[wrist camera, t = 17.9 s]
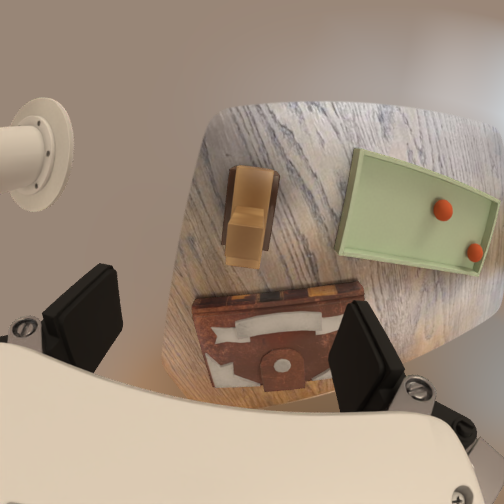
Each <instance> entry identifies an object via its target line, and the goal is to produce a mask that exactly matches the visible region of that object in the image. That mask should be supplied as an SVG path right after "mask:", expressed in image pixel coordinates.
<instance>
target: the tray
mask: <svg viewBox="0 0 504 504" xmlns="http://www.w3.org/2000/svg"><path fill="white" fill-rule="evenodd" d="M442 199H443V200H447V201H448V202H449V203H450V204H451V205H452V208H453V214H452V217H451V218H450V219H449V220H448V221H440V220H438V219H437V218H436V217H435V215H434V211H433V209H434V205H435V203H436V202H437V201H439V200H442ZM500 202H501V201H500V200H498V199H496V198H494V197H492V196H490V195H488V194H486V193H483V192H481V191H479V190H477V189H475V188H473V187H470V186H468V185H466V184H463V183H461V182H459V181H456V180H454V179H451V178H449V177H446V176H444V175H441V174H439V173H436V172H433V171H431V170H428V169H425V168H422V167H419V166H417V165H414V164H411V163H408V162H405V161H401V160H398V159H395V158H392V157H389V156H385V155H382V154H378V153H375V152H371V151H367V150H364V149H354V151H353V157H352V163H351V169H350V175H349V180H348V186H347V191H346V196H345V201H344V206H343V211H342V215H341V220H340V225H339V229H338V233H337V238H336V242H335V246H334V249H335V251H336V252H337V254H338V255H340V256H348V257H354V258H361V259H368V260H375V261H381V262H388V263H394V264H401V265H407V266H414V267H420V268H427V269H433V270H439V271H446V272H452V273H458V274H465V275H471V276H477V277H479V275H480V272H481V269H482V266H483V264H484V261H485V258H486V255H487V252H488V248H489V245H490V242H491V239H492V235H493V231H494V228H495V224H496V220H497V216H498V212H499V207H500ZM474 243H476V244H479V245H480V246H481V247H482V250H483V256H482V259H481V260H480V261H479V262H472V261H470V260H469V258H468V256H467V250H468V248H469V246H470V245H471V244H474Z"/></svg>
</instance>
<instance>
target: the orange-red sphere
mask: <svg viewBox="0 0 504 504" xmlns="http://www.w3.org/2000/svg"><path fill="white" fill-rule="evenodd" d="M467 256H468V258H469V260H470V261H472V262H479V261H480V260H481V259H482V256H483V250H482V247H481V246H480V245H479V244H476V243H474V244H471V245H470V246H469V248H468V250H467Z"/></svg>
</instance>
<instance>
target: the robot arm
mask: <svg viewBox="0 0 504 504" xmlns="http://www.w3.org/2000/svg"><path fill="white" fill-rule="evenodd" d="M54 160H55V140H54V134H53V131H52V128H51V126H50V124H49V123H48V122H47V120H46V119H44V118H43V117H41V116H28V117H26V118H24V119H23V120H22V121H21V122H20V123H19V124H18V125H17V126H12V127H0V194H3V193H6V192H10V191H13V190H17V191H18V192H19V193H21V194H23V195H33V194H36V193H38V192H39V191H41V190H42V189H43V188H44V186H45V185H46V183H47V182H48V180H49V178H50V176H51V173H52V170H53V166H54ZM42 315H43V320H42V321H40V320H39V319H38V318H37V317H35V316H23V317H20V318H18V319H16V320H15V321H14V322H13V323H12V324H11V325H10V328H9V332H8V335H6V336H1V337H0V504H493V503H494V501H495V500H496V498H497V496H498V494H499V492H500V491H501V489H502V487H503V485H504V457H503V456H501V455H500V454H499V453H498V452H497V451H496V450H495V449H494V448H493V447H491V446H490V445H489V444H488V443H487V442H486V441H485V440H484V439H482V438H481V437H480V438H478V439H477V438H476V437H477V431H476V427H475V425H474V423H473V422H472V421H471V420H470V419H468V418H467V417H465V416H463V415H461V414H459V413H457V412H455V411H453V410H451V409H450V408H448V407H446V406H444V405H442V404H440V403H438V402H437V401H435V399H436V390H435V387H434V386H433V384H432V383H431V382H430V381H429V380H428V379H426V378H424V377H422V376H419V375H408V376H407V377H406V375H405V373H404V370H405V368H404V366H403V364H402V362H401V360H400V358H399V357H398V355H397V353H396V351H395V349H394V347H393V345H392V344H391V342H390V340H389V338H388V336H387V335H386V333H385V331H384V329H383V327H382V326H381V324H380V322H379V321H378V319H377V317H376V315H375V314H374V312H373V310H372V309H371V307H370V305H369V303H368V302H367V301H359V300H353V301H352V302H351V303H348V304H347V306H346V309H345V312H344V315H343V318H342V320H341V323H340V326H339V329H338V331H337V334H336V337H335V339H334V342H333V345H332V347H331V350H330V352H329V356H328V363H329V367H330V371H331V375H332V379H333V383H334V387H335V391H336V396H337V400H338V404H339V409H340V413H312V412H285V411H269V410H259V409H249V408H240V407H232V406H225V405H218V404H212V403H206V402H200V401H195V400H190V399H185V398H180V397H175V396H171V395H166V394H162V393H158V392H154V391H150V390H146V389H142V388H139V387H135V386H132V385H128V384H125V383H122V382H118V381H115V380H112V379H109V378H106V377H103V376H100V375H97V374H94V372H95V370H96V368H97V367H98V365H99V364H100V362H101V361H102V359H103V358H104V356H105V355H106V353H107V352H108V350H109V348H110V347H111V345H112V344H113V343H114V341H115V340H116V338H117V337H118V335H119V334H120V332H121V331H122V327H123V320H122V313H121V307H120V298H119V290H118V280H117V272H116V270H114V269H113V266H111V265H106V264H101V263H99V264H98V265H97V266H95V267H94V268H93V269H92V270H90V271H89V272H88V273H87V274H85V275H84V276H83V277H82V278H81V279H80V280H78V281H77V282H76V283H75V284H74V285H73V286H71V287H70V288H69V289H68V290H67V291H66V292H65V293H64V294H62V295H61V296H60V297H59V298H58V299H57V300H56V301H55V302H54V303H52V304H51V305H50V306H49V307H48V308H47V309H46V310H45V311H44V312H43V313H42Z"/></svg>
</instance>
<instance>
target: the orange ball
mask: <svg viewBox="0 0 504 504" xmlns="http://www.w3.org/2000/svg"><path fill="white" fill-rule="evenodd" d="M433 211H434V215H435V217H436V218H437V219H438V220H440V221H448V220H449V219H450V218H451V217H452V214H453V208H452V205H451V204H450V203H449V202H448V201H447V200H443V199H442V200H439V201H437V202H436V203H435V205H434V209H433Z"/></svg>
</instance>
